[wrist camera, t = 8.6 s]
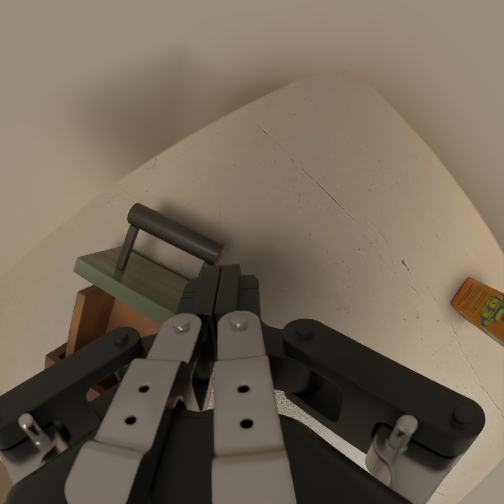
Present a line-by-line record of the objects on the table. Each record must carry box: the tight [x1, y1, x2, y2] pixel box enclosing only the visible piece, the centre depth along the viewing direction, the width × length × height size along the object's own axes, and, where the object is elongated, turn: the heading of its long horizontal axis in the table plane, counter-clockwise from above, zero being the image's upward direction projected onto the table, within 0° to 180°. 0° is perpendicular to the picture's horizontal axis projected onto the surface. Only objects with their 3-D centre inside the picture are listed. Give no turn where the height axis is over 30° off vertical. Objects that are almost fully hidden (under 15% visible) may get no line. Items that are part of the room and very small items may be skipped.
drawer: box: [65, 203, 225, 390], centre depth 24 cm, size 18×11×7 cm, turn 155°
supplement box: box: [451, 278, 504, 347], centre depth 20 cm, size 3×3×10 cm
